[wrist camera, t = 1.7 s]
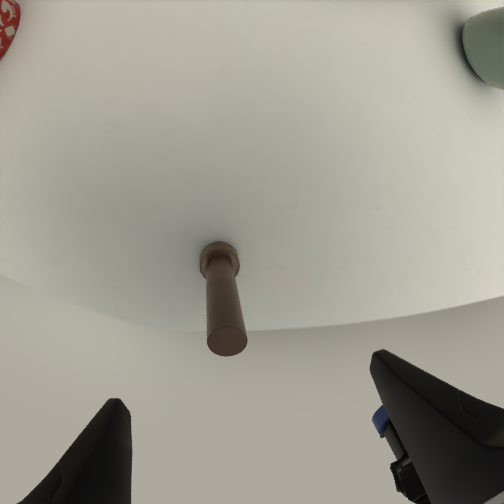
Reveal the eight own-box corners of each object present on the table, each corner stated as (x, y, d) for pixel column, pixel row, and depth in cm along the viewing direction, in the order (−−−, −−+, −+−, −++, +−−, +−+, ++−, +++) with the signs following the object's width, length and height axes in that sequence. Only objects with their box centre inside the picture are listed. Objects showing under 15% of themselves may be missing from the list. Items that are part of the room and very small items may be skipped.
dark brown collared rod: (204, 278, 18) (204, 367, 11) (196, 245, 17) (190, 324, 10) (240, 272, 19) (260, 357, 11) (234, 238, 18) (253, 313, 10)
